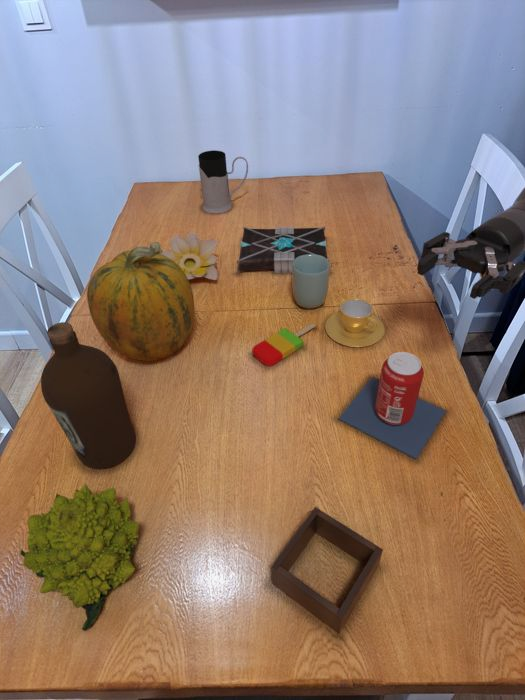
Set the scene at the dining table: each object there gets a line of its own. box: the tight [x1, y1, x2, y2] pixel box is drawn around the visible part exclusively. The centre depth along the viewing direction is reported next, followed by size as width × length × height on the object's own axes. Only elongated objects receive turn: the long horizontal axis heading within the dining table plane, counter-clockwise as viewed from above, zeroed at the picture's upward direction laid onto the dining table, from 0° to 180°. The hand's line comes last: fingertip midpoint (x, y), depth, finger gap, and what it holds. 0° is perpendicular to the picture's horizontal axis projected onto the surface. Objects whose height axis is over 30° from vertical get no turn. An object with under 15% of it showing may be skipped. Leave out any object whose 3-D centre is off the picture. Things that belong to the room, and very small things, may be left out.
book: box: [236, 225, 330, 274], centre depth 121 cm, size 22×17×5 cm
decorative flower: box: [160, 231, 219, 281], centre depth 114 cm, size 15×11×10 cm
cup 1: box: [291, 254, 331, 310], centre depth 104 cm, size 8×8×10 cm
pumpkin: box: [86, 241, 195, 362], centre depth 91 cm, size 19×19×25 cm
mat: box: [338, 376, 447, 460], centre depth 83 cm, size 14×12×1 cm
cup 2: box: [324, 297, 386, 348], centre depth 98 cm, size 12×12×5 cm
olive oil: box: [40, 321, 137, 470], centre depth 72 cm, size 11×11×25 cm
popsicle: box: [252, 323, 316, 367], centre depth 97 cm, size 6×15×2 cm, turn 131°
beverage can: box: [375, 351, 425, 425], centre depth 79 cm, size 6×6×12 cm
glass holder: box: [197, 149, 249, 214], centre depth 139 cm, size 9×14×15 cm, turn 100°
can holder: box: [270, 506, 384, 635], centre depth 62 cm, size 10×10×5 cm
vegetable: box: [20, 483, 140, 632], centre depth 63 cm, size 15×16×15 cm
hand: (445, 280), depth 70 cm, fingers open, 8 cm apart
